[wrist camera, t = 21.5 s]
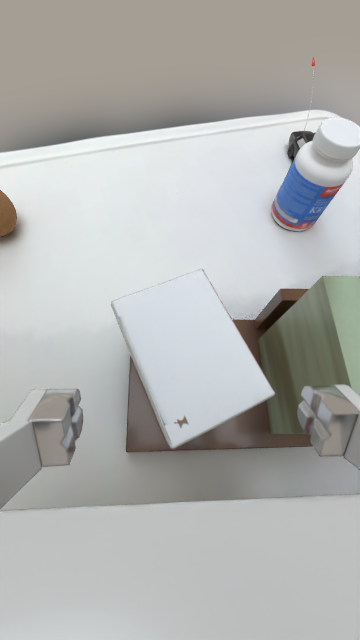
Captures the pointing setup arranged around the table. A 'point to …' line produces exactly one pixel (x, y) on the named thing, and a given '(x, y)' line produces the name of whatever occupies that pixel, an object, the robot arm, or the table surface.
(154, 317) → the small box
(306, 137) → the toy car
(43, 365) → the table surface
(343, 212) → the table surface
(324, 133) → the pill bottle
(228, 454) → the table surface
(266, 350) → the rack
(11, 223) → the egg
